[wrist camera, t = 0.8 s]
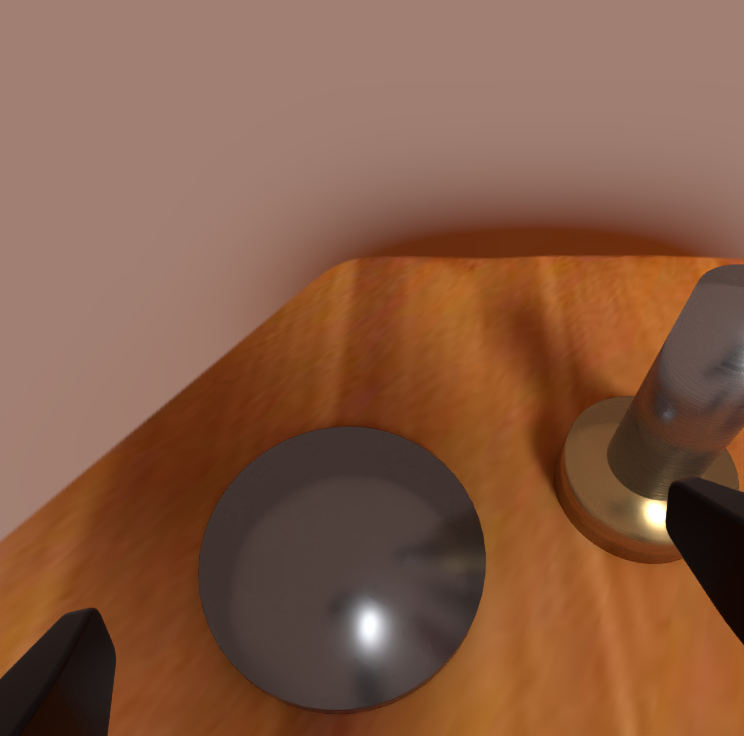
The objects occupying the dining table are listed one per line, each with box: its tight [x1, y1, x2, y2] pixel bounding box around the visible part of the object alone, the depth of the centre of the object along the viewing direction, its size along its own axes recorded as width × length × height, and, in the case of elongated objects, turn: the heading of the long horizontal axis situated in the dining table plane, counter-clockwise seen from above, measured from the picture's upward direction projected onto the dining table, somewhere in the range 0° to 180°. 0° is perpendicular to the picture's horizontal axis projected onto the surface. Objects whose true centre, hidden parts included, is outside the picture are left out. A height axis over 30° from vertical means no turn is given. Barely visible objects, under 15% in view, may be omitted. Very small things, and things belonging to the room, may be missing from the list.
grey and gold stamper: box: [554, 265, 744, 564], centre depth 22 cm, size 7×7×12 cm
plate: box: [198, 427, 486, 714], centre depth 25 cm, size 12×12×1 cm
